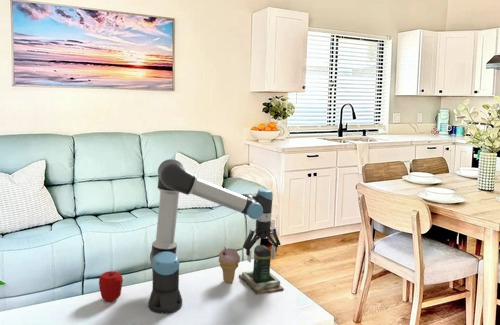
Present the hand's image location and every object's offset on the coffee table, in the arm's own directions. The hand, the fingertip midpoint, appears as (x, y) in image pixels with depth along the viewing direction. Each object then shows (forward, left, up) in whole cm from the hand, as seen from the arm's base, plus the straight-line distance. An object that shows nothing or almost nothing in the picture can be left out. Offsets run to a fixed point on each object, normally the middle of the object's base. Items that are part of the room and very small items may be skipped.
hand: (261, 259), depth 218 cm
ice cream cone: (-15, +7, -13) cm, 21 cm away
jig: (0, 0, -13) cm, 13 cm away
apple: (-73, +8, -13) cm, 74 cm away
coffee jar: (+1, 0, -12) cm, 12 cm away
